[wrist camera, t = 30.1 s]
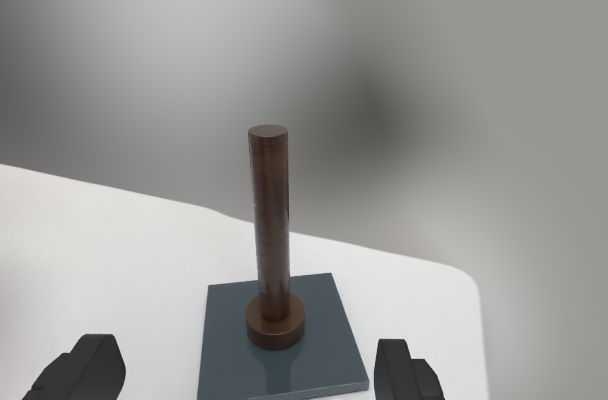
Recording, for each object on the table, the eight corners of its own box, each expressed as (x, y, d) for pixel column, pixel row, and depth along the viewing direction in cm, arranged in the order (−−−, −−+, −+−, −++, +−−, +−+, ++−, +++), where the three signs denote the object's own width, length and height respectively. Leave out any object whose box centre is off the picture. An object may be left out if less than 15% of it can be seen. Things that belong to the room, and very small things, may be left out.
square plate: (330, 279, 30) (331, 272, 30) (368, 389, 22) (369, 381, 21) (209, 292, 29) (208, 284, 29) (197, 416, 20) (195, 407, 20)
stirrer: (300, 302, 27) (300, 117, 20) (309, 346, 23) (314, 141, 17) (246, 308, 26) (228, 120, 20) (247, 354, 23) (226, 145, 16)
